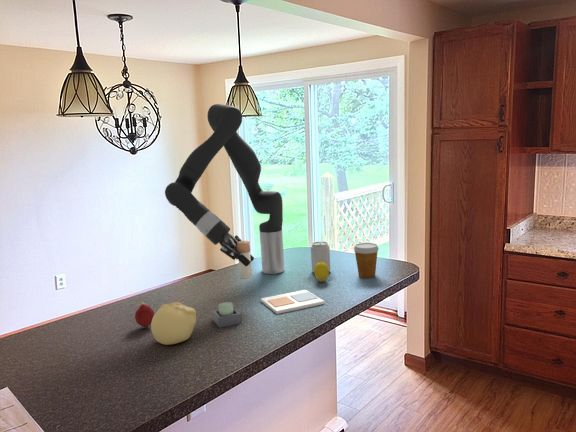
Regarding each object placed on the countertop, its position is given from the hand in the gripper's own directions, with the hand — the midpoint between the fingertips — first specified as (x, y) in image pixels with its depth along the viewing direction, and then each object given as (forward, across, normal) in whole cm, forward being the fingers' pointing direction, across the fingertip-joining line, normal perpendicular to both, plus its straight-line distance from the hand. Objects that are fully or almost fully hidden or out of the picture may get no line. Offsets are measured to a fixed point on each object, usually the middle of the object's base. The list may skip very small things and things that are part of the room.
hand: (250, 262), depth 162 cm
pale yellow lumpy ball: (-1, -30, +20) cm, 37 cm away
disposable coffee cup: (+37, +32, -15) cm, 51 cm away
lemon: (+25, +24, -4) cm, 35 cm away
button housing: (+7, -17, +13) cm, 22 cm away
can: (+24, +37, -2) cm, 44 cm away
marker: (+2, 0, +5) cm, 5 cm away
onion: (-10, -22, +30) cm, 39 cm away
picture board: (+19, +1, +1) cm, 19 cm away
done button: (+6, -16, +12) cm, 21 cm away
